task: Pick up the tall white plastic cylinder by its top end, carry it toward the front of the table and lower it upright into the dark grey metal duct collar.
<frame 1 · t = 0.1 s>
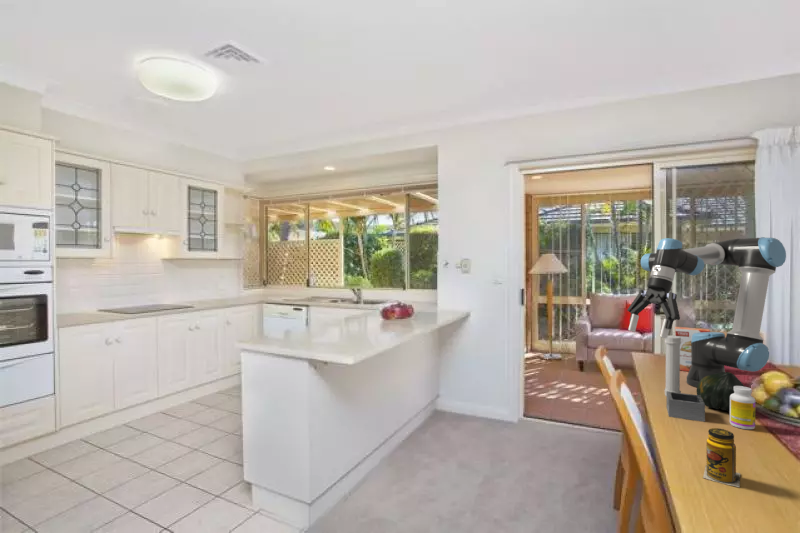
hand: (646, 334, 156), 28 cm above the table, tool tilted 20°, fingers open, 13 cm apart
cracker box: (691, 371, 206), on the table
condiment: (721, 477, 109), on the table
squash: (722, 409, 156), on the table
duct collar: (684, 414, 151), on the table
supplement bottle: (742, 426, 140), on the table
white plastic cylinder: (671, 396, 170), on the table
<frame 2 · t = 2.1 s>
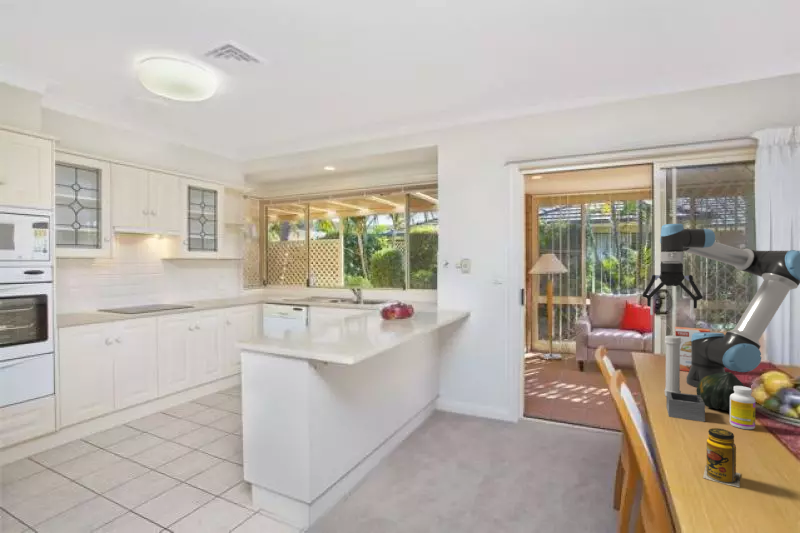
hand: (671, 315, 169), 33 cm above the table, tool pointing down, fingers open, 13 cm apart
nothing on the table moved.
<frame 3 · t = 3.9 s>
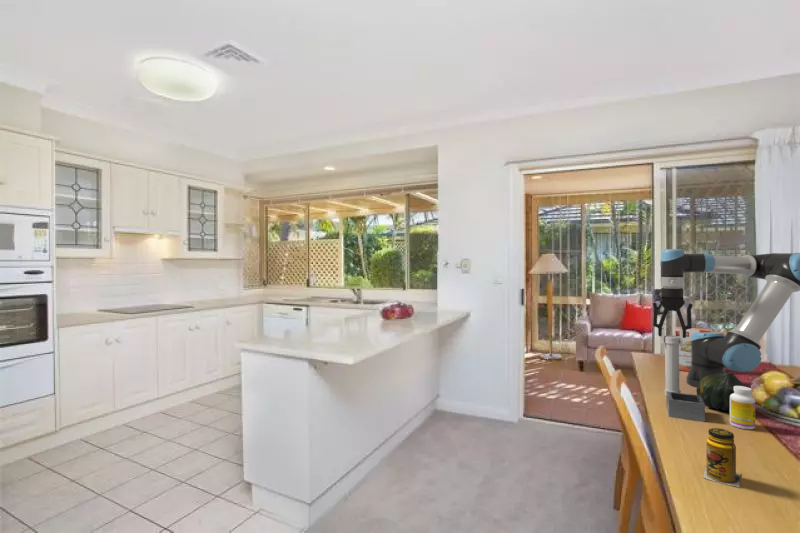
hand: (671, 345, 169), 21 cm above the table, tool pointing down, fingers closed on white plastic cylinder, 5 cm apart
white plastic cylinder: (671, 396, 170), on the table, touching gripper
everything else where it was.
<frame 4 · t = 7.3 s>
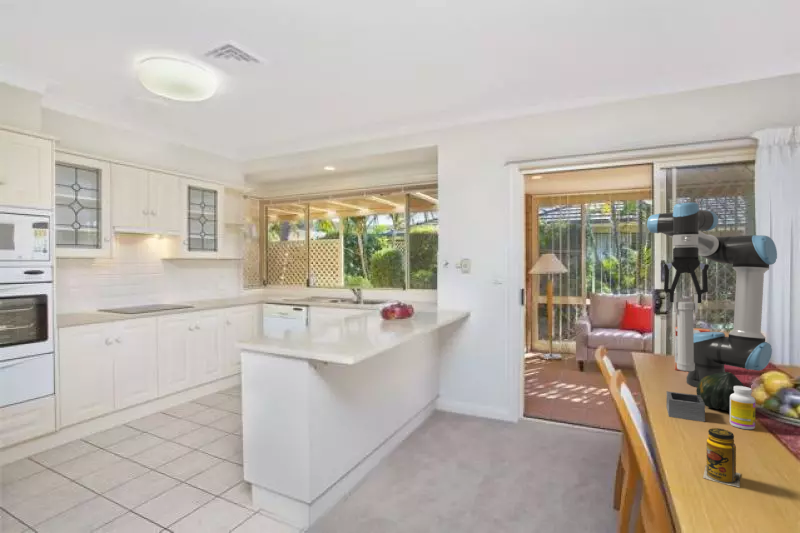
hand: (685, 311, 150), 37 cm above the table, tool pointing down, fingers closed on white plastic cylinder, 5 cm apart
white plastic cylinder: (684, 370, 151), point 16 cm above the table, touching gripper
everything else where it was.
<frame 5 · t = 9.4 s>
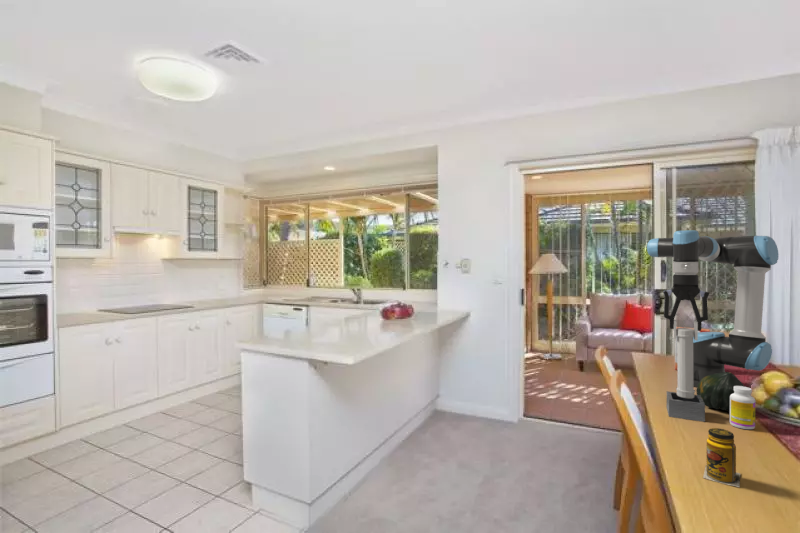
hand: (685, 338, 150), 27 cm above the table, tool pointing down, fingers closed on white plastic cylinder, 5 cm apart
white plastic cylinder: (684, 396, 151), point 6 cm above the table, touching gripper
everything else where it was.
when the fingers open (23 cm above the table, at t = 10.9 s): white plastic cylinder drops 2 cm, resting in duct collar.
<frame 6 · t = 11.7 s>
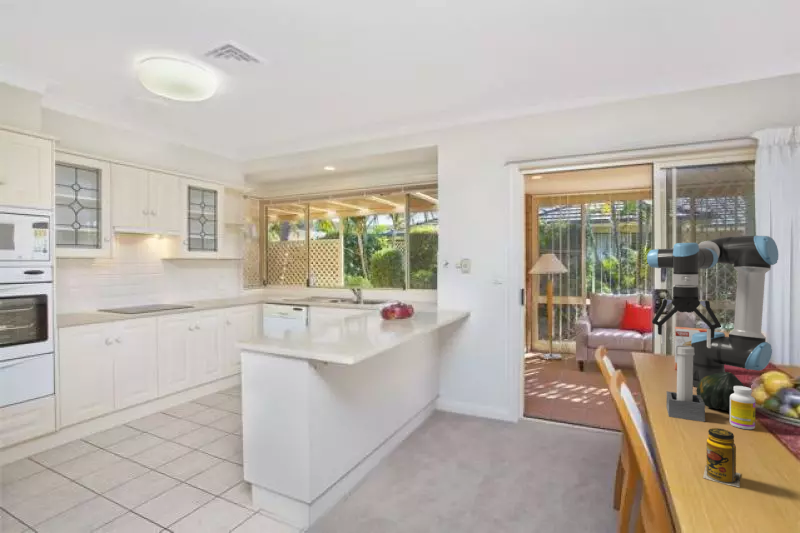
hand: (685, 345, 150), 25 cm above the table, tool pointing down, fingers open, 13 cm apart
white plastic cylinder: (683, 414, 151), resting in duct collar
everything else where it was.
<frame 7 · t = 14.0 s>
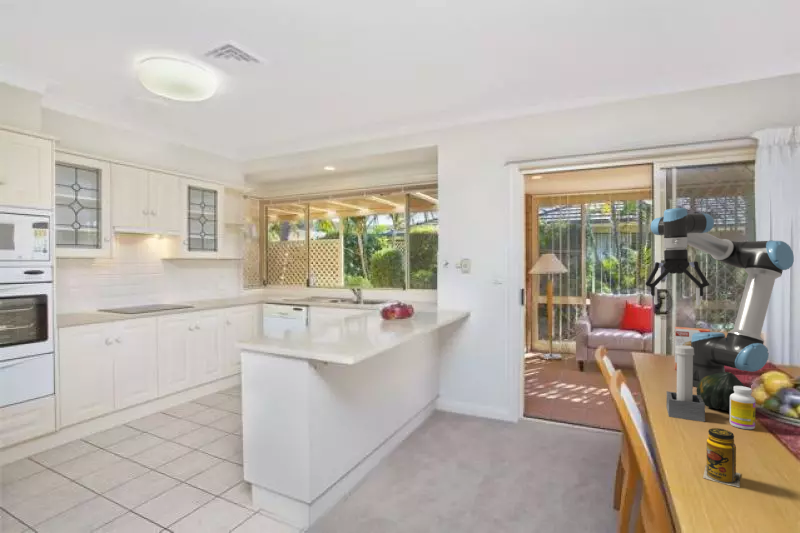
hand: (676, 304, 161), 38 cm above the table, tool pointing down, fingers open, 13 cm apart
nothing on the table moved.
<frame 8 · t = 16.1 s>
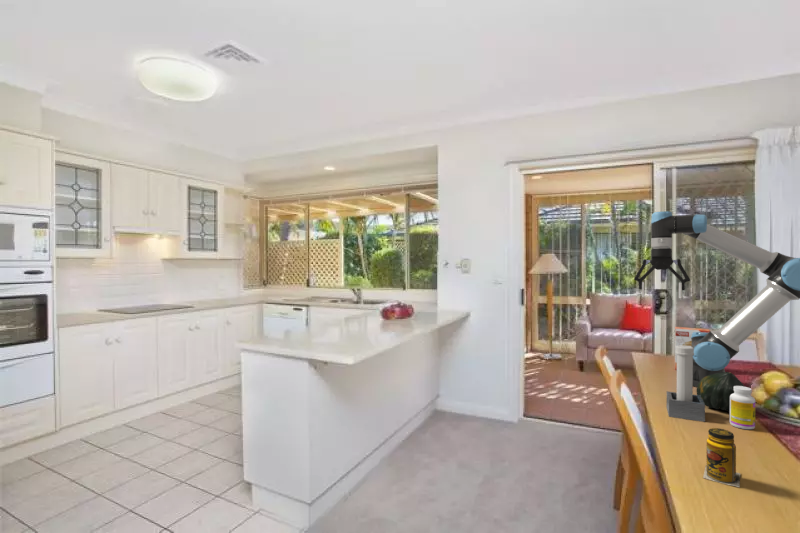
hand: (661, 297, 181), 39 cm above the table, tool pointing down, fingers open, 13 cm apart
nothing on the table moved.
at the end: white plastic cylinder 0.5 cm from the duct collar (horizontally); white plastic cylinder tilted 0°; the gripper is holding nothing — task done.
